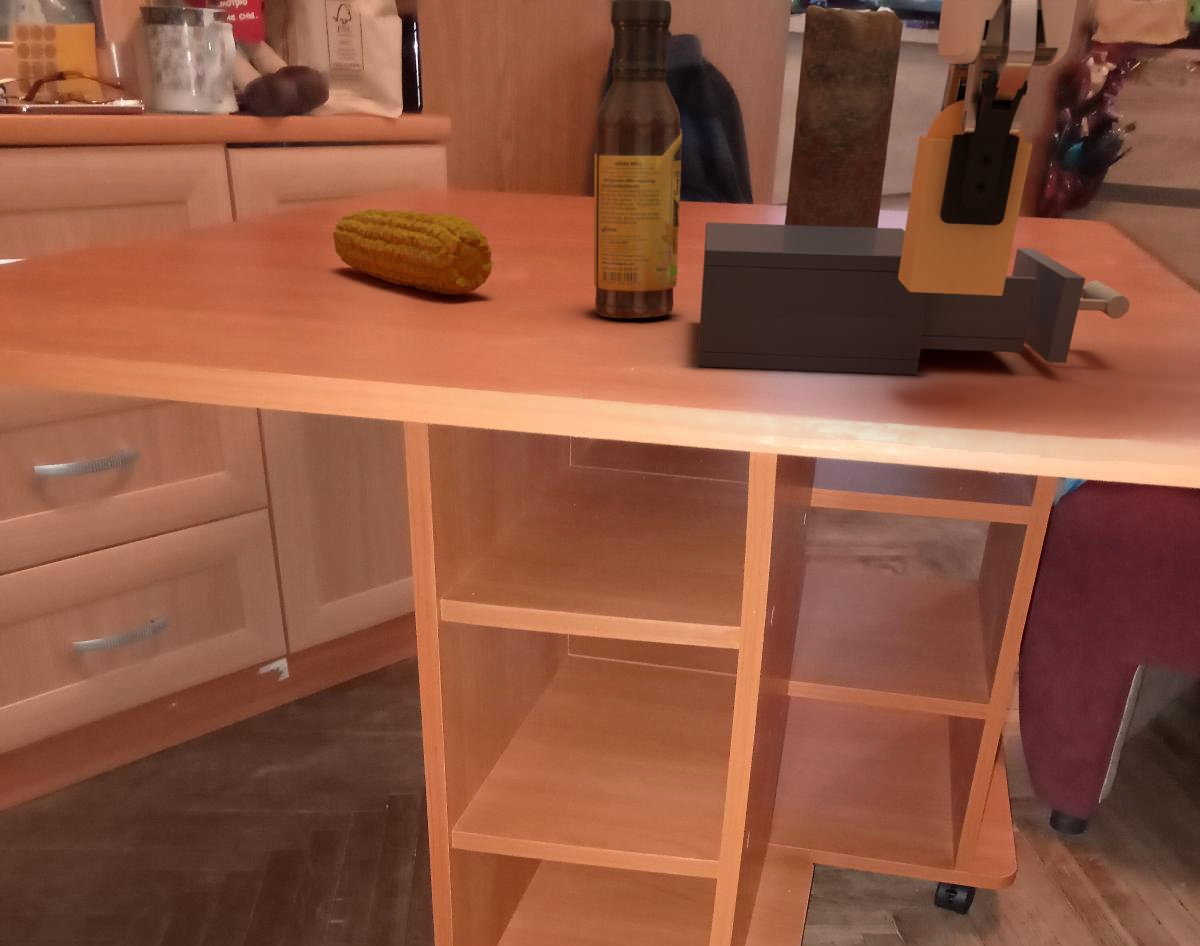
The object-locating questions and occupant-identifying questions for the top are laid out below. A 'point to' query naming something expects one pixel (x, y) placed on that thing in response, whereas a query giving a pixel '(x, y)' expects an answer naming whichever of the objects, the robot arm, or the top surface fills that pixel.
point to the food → (415, 249)
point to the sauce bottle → (637, 169)
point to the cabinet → (808, 300)
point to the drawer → (1020, 311)
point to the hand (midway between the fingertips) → (961, 214)
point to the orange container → (955, 250)
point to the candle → (843, 117)
